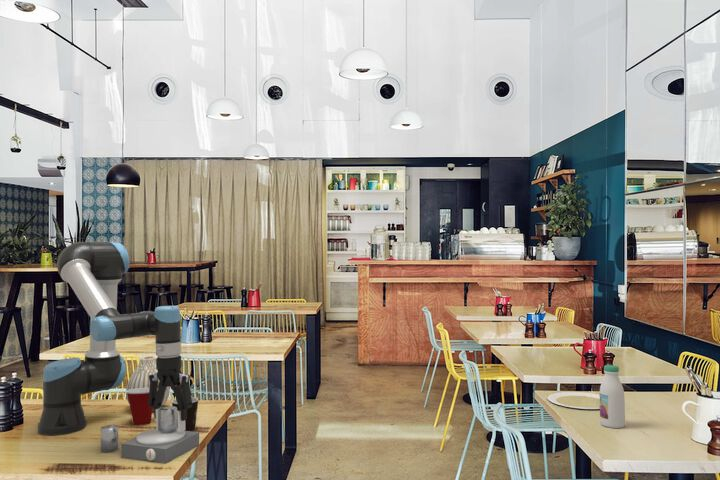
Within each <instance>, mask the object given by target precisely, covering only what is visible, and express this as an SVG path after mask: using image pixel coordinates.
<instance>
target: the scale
mask: <svg viewBox="0 0 720 480" xmlns="http://www.w3.org/2000/svg"><path fill="white" fill-rule="evenodd" d="M199 446H200V431H182V432H178V428H177V431H176V432H174V433H169V434H163V433H160V430H159V431H156V427H155V428H152V429H148V430H145V431H142V432H140V433H139V434H137V435H136V436H135V437H133V438H130V439H129V440H126V441H124V442H121V443H120V458H126V459H132V460H140V461H146V462H153V463H161V464H167V463H169V462H171V461H172V460H175V459H177V458H178V457H180V456H182V455H184V454H185V453H187V452H190V451H191V450H193V449H195V448H197V447H199Z"/></svg>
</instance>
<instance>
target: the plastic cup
mask: <svg viewBox="0 0 720 480" xmlns="http://www.w3.org/2000/svg"><path fill="white" fill-rule="evenodd" d="M157 391H158V390H157ZM126 393H127V395H128V400H129V403H128V404H129V409H130V413H131V419H132V423H133V425H135V426H143V425H144V426H145V425H148V424H150V423H151V421H152V416H153V413H154V411H153V407H151V406H150V407H149V406H148V400H149V388H137V389H131V390H127V391H126V390H125V394H126ZM128 400H127V401H128Z"/></svg>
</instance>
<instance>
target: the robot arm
mask: <svg viewBox="0 0 720 480" xmlns="http://www.w3.org/2000/svg"><path fill="white" fill-rule="evenodd" d="M56 269H57V272H58V274H59V276H60V278H61V279H62V281H63V282H65V283H68V284H69V285H70V287H71V289H72V291H73V292H74V294H75V295H76V297H77V299H78V300H79V301H80V303H81V305H82V306H83V308H84V310H85V311H86V313H87V315H88V316H89V317H90V324H89V350H88V351H86V353H84V360H81V358H79V357H70V358H69V357H68V358H63V359H59V360H54V361H52V362H50V363H48V364H46V365H45V366H44V367H43V376H42V403H43V404H42V405H43V406H42V413H41V414H40V415H41V416H40V419H39V422H38V423H37V430H36V431H37V434H38V435H42V436H58V435H66V434H71V433H75V432H77V431H81V430H83V429H85V428H86V427H87V426H88V424H87V423H88V421H87V416H86V415H85V411H84V408H83V406H82V395H87V394H91V393H97V392H103V391H109V390H111V389H116V388H118V387H120V386H121V385H122V384H123V382H124V380H125V379H126V372H127V364H126V360H125V358H124V357H123V356H122V355H120V354H121V353H120V351H119V350H118V349H117V348H116V342H117V340H118V341H119V340H123V339H124V340H125V339H129V338H132V339H133V338H138V337H139V338H140V337H147V336H155V358H156V369H157V370H158V372H157V374H156V373H155V374H152V375H149V380H150V388H149V400H148V406H149V407H150V406H151V407H153V408H154V411H153V415H154V417H153V418H154V420H155V428H156V431H159V430H160V409H161V408H163V406H164V405H161V404H162V401H163V398H164V395H165V391H166V388H167V387H168V386H169V387H170V389H171V391H172V392H173V395H174V397H175V399H176V401H177V403H178V406H179V410H178V411H177V419H178V432H182V431H184V430H185V420H186V419H187V408H189V407H192V398H191V397H192V394H191V387H190V386H191V384H190V379H191V375H190V374H183V373H182V369H181V368H182V365H183V364H182V355H181V354H182V341H181V338H182V337H181V335H182V331H181V330H182V329H181V328H182V326H181V325H182V324H181V318H182V317H181V313H180V306H177V305H163V306H161V305H160V306H157V307H155V309H154V311H152V310H147V311H145V310H144V311H140V312H136V313H122V314H120V312H119V311H118V309H117V308H118V284H119V283H120V282H121V281H122V280H123V275H124V274H126V273H127V272H128V271H129V269H130V256H129V253H128V250H127V249H126V247H125V246H124V245H123V244H122V243H119V242H114V241H86V242H85V241H79V242H78V241H77V242H73V243H71V244H69V245H67V246H66V247H65V248H64V249H63V250H62V251H61V252H60V254H59V256H58V258H57V263H56ZM158 379H159V385H158ZM157 390H158V391H157ZM161 406H162V407H161ZM160 407H161V408H160Z"/></svg>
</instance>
